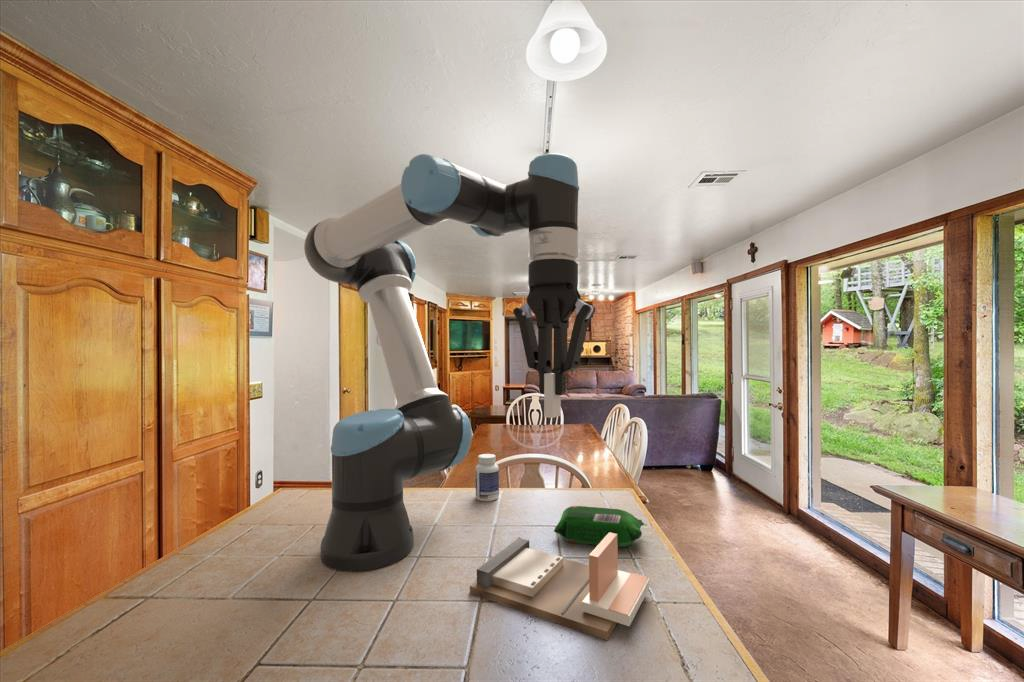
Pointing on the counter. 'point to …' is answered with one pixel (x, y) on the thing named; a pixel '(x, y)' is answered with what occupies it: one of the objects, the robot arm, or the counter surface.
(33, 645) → the counter surface
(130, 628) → the counter surface
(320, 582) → the counter surface
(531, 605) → the wooden base board
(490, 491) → the pill bottle
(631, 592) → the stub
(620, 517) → the snack package
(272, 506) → the counter surface
